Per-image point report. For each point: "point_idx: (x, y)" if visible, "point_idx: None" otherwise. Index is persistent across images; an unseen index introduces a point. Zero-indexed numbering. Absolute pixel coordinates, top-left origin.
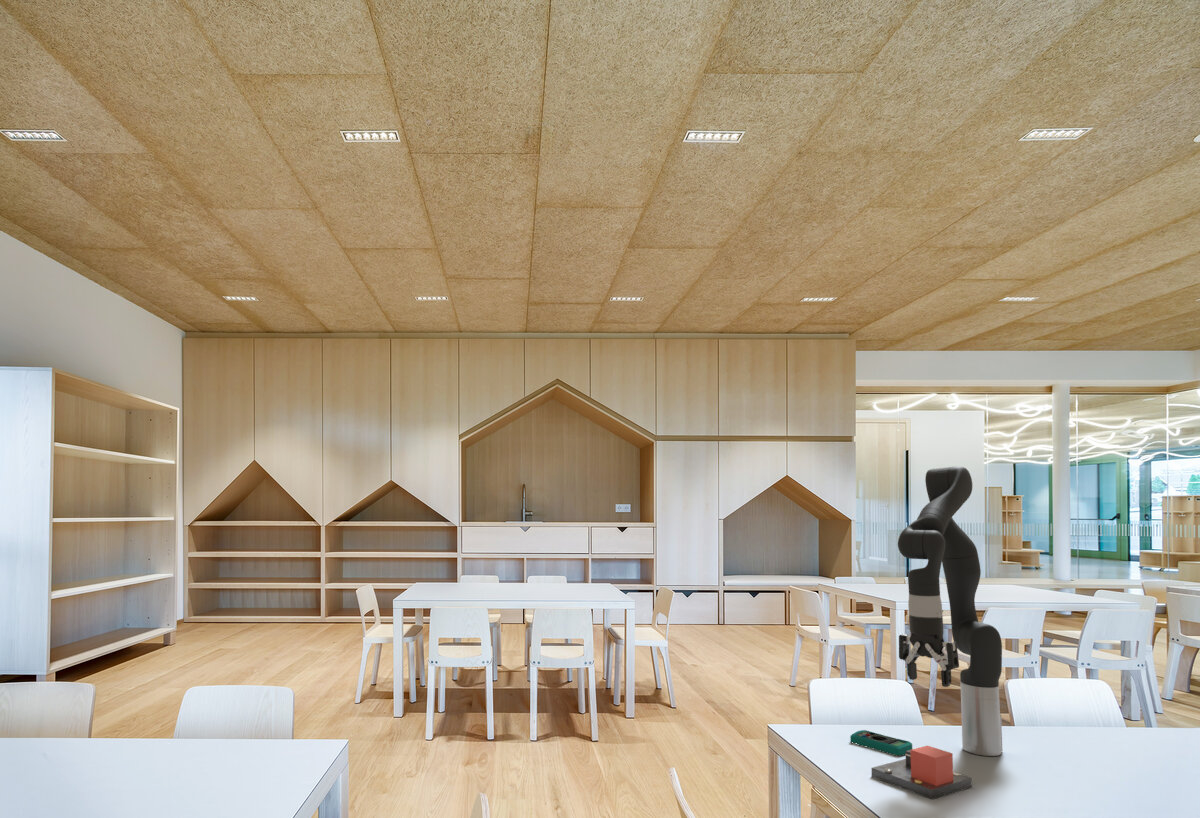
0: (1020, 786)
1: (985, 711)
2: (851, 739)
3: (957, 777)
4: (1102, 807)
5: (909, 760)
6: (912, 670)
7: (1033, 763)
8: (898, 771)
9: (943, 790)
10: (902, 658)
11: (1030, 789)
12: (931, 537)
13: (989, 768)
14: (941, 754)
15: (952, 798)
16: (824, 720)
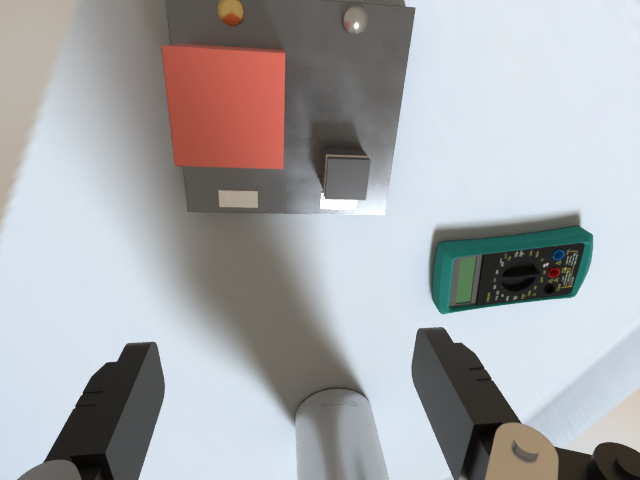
0: (143, 303)
1: None
2: (582, 229)
3: (208, 179)
4: None
5: (351, 152)
6: (444, 388)
7: (230, 432)
8: (338, 61)
9: None
10: (601, 458)
11: (119, 305)
12: None
13: (258, 344)
14: (182, 113)
15: (152, 65)
16: None
